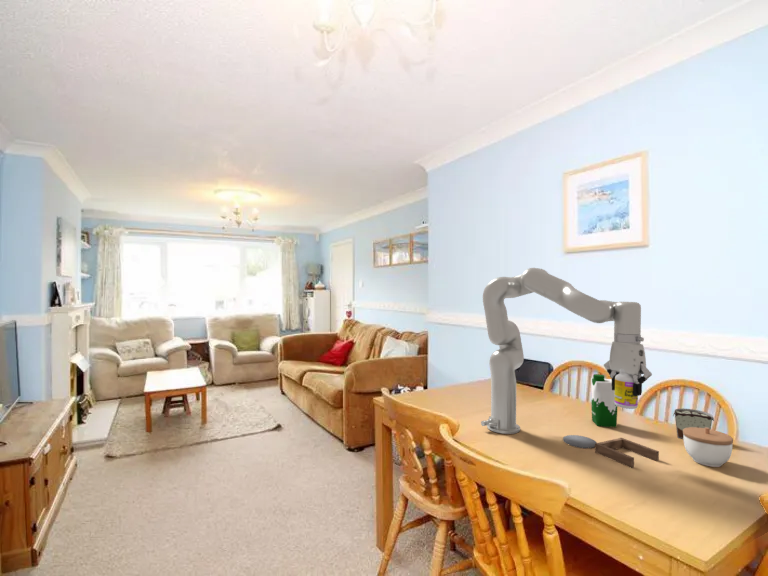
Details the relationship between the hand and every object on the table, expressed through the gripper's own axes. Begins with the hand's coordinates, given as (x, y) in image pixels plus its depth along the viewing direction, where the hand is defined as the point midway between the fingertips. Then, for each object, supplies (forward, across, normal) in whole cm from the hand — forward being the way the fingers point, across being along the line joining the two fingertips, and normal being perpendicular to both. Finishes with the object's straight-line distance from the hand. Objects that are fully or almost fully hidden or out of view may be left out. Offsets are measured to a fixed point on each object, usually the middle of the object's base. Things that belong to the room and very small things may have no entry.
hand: (626, 392), depth 133 cm
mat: (+21, +14, +4) cm, 26 cm away
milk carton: (+22, +24, -22) cm, 40 cm away
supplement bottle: (+5, 0, 0) cm, 5 cm away
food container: (+21, +2, -39) cm, 45 cm away
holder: (+21, 0, 0) cm, 21 cm away
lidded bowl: (+21, -14, -20) cm, 32 cm away
